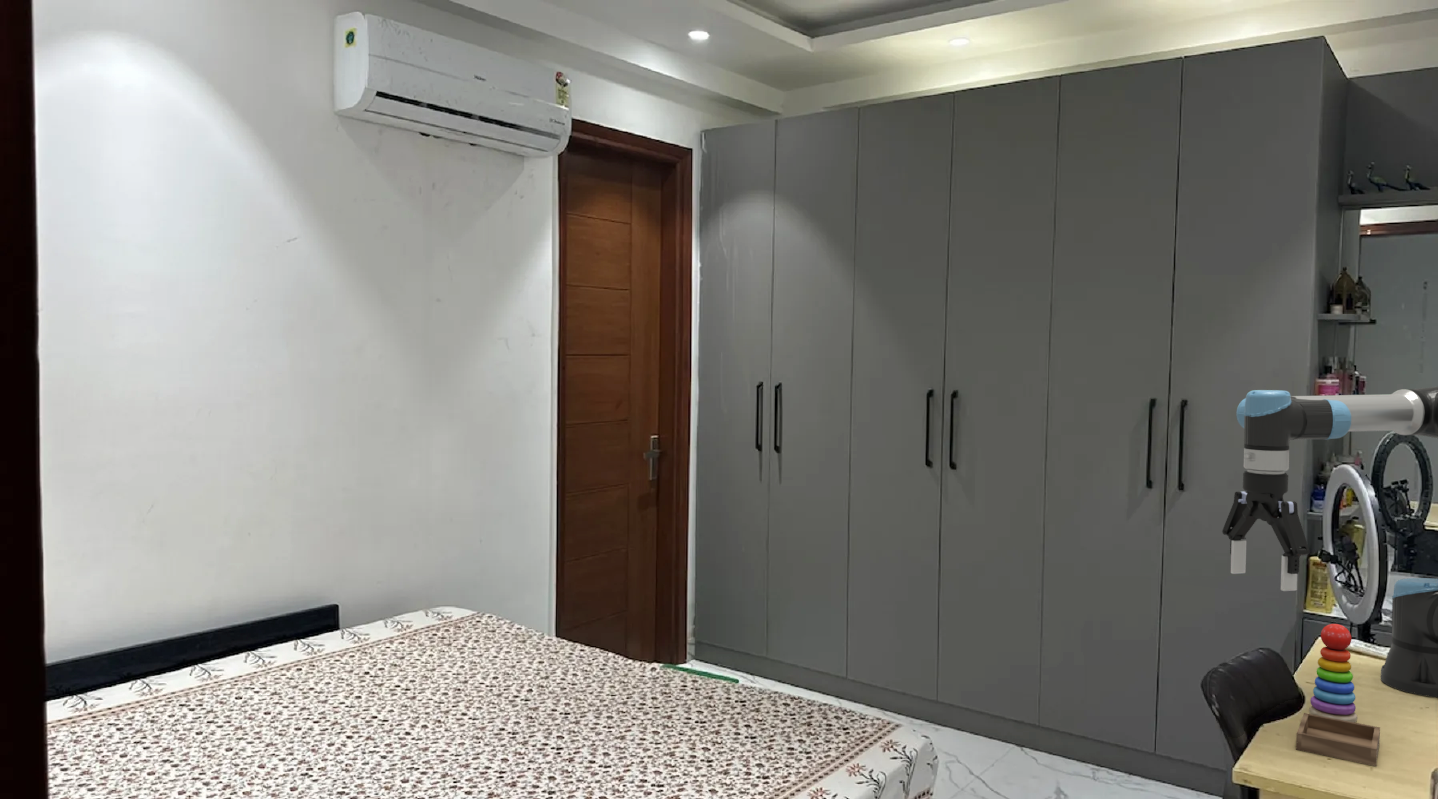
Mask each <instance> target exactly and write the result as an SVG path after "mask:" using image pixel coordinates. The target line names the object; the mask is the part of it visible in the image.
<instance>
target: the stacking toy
mask: <svg viewBox="0 0 1438 799" xmlns="http://www.w3.org/2000/svg"><path fill="white" fill-rule="evenodd" d="M1320 639H1321V642H1322V643H1323V644H1324V646H1323V647H1321V649H1320V651H1319V652H1320V655H1321V657H1319V658H1318V660H1317V665H1318V667H1317V668H1316V675H1317V676H1316V677H1315V679H1314V684H1315V687H1314V688H1313V690H1312V692H1313V696H1311V698H1310V704H1311V706H1310V707H1309V710H1308V711H1309V714H1313V715H1318V716H1323V717H1328V718H1333V719H1339V720H1344V721H1349V722H1354V723H1357V721H1358V715H1357V714H1356V712H1355V711H1356V704H1355V703H1354V702H1355V701H1356V694H1355V693H1354V690H1355V685H1354V683H1353V678H1354V674H1353V673H1352V671H1351V670H1352V664H1351V663H1350V659H1351V656H1352V655H1351V652H1350V651H1349V650H1347V648H1348V647H1349V646H1350V645H1351V643H1352V635H1351V632H1350V631H1349V630H1348V628H1347V627H1345V626H1344V625H1342V624H1338V623H1329V624H1327V625H1325V626H1324V627H1323V628H1322V629H1321V632H1320Z"/></svg>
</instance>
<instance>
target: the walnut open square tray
mask: <svg viewBox="0 0 1438 799" xmlns="http://www.w3.org/2000/svg"><path fill="white" fill-rule="evenodd" d="M1380 734H1381V727H1379V726H1374V725H1369V724H1365V723H1359V722H1355V723H1354V722H1349V721H1344V720H1339V719H1333V718H1328V717H1323V716H1318V715H1313V714H1310V713H1306V712H1303V715H1302V718H1301V721H1300V723H1299V726H1298V728H1297V731H1296V736H1295V737H1296V741H1295V745H1296V746H1295V749H1296V750H1297V751H1302V752H1306V753H1311V754H1316V755H1320V756H1326V757H1330V758H1335V759H1339V760H1345V761H1348V762H1349V761H1350V762H1354V763H1359V764H1363V765H1368V766H1373V767H1377V762H1378V755H1379V749H1380V742H1381V740H1380V737H1381V736H1380Z"/></svg>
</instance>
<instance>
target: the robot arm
mask: <svg viewBox="0 0 1438 799" xmlns="http://www.w3.org/2000/svg"><path fill="white" fill-rule="evenodd" d="M1236 419H1237V423H1238V424H1239V425H1240V427H1241V428H1243V429H1244V430H1243V439H1244V440H1243V441H1244V442H1243V468H1244V469H1245V471H1244V472H1243V473H1242V489H1243V490H1244V491H1235V492H1234V496H1233V503H1232V506H1231V508H1230V510H1229V513H1228V515H1227V518H1226V520H1225V523H1224V526H1223V528H1222V531H1221V532H1222V534H1223V535H1225V536H1227V537H1228V539H1229V541H1230V542H1229V545H1230V547H1229V549H1230V550H1229V551H1230V552H1229V553H1230V574H1232V575H1238V574H1241V575H1242V574H1246V571H1247V569H1246V568H1247V564H1246V563H1247V540H1246V539H1247V538H1246V535H1247V534H1248V533H1249V531H1250V530H1251V528H1252V527H1253V526H1254V524H1255V523H1256V522H1257V521H1258V520H1261V521H1263V522H1266V523H1267V524H1268V525H1270V526H1271V528H1272V530H1273V532H1274V534H1275V536H1276V539H1277V540H1278V542H1279V544H1280V546H1281V548H1282V550H1283V551H1284V553H1283V554H1281V564H1280V565H1281V567H1280V568H1281V569H1280V591H1283V592H1289V591H1290V592H1291V591H1297V590H1298V574H1299V572H1300V559H1301V558H1300V557H1301V556H1304V555H1305V556H1306V555H1309V554H1310V553H1311V552H1310V548H1309V545H1308V542H1307V539H1306V535H1305V532H1304V528H1303V526H1302V523H1301V520H1300V516H1299V514H1298V512H1299V511H1298V503H1297V501H1295V500H1293V501H1291V500H1290V501H1285V500H1284V495H1285V494H1286V493H1288V491H1289V474H1288V473H1286V472H1287V471H1289V470H1290V443H1291V442H1290V441H1293V440H1325V441H1328V440H1331V439H1335V440H1336V439H1340V438H1343V437H1344V436H1346V434H1348V432H1385V431H1386V432H1387V431H1388V432H1389V431H1391V432H1392V431H1393V433H1396V434H1397V435H1401V436H1418V437H1419V436H1421V437H1428V438H1432V439H1433V438H1434V439H1438V385H1437V386H1430V387H1420V388H1412V389H1411V388H1410V389H1409V388H1406V389H1405V388H1403V389H1402V388H1401V389H1398V390H1395V391H1394V392H1392V393H1391V394H1343V395H1342V394H1341V395H1340V394H1339V395H1338V394H1336V395H1291V393H1290V392H1289V391H1288V390H1281V389H1278V390H1277V389H1272V390H1271V389H1268V390H1267V389H1257V390H1256V389H1254V390H1250V391H1249V392H1247V394H1246V395H1245V398H1243V399H1242V400H1240V402H1239V404H1238V406H1237V408H1236ZM1391 597H1392V608H1391V609H1392V612H1391V613H1392V614H1391V616H1392V617H1391V646H1390V648H1389V651H1388V653H1387V656H1386V658H1385V661H1384V664H1383V665H1382V666H1381V668H1380V681H1381V682H1382V683H1384V684H1385V685H1387V686H1389V687H1390V688H1392V689H1393V688H1394V689H1396V690H1398V691H1403V692H1406V693H1409V694H1413V695H1418V696H1425V697H1433V698H1438V578H1433V577H1432V578H1431V577H1430V578H1429V577H1427V578H1426V577H1410V578H1409V577H1408V578H1401V579H1398V580H1397V581H1396V582H1395V583H1394V586H1393V593H1392V596H1391Z"/></svg>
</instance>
